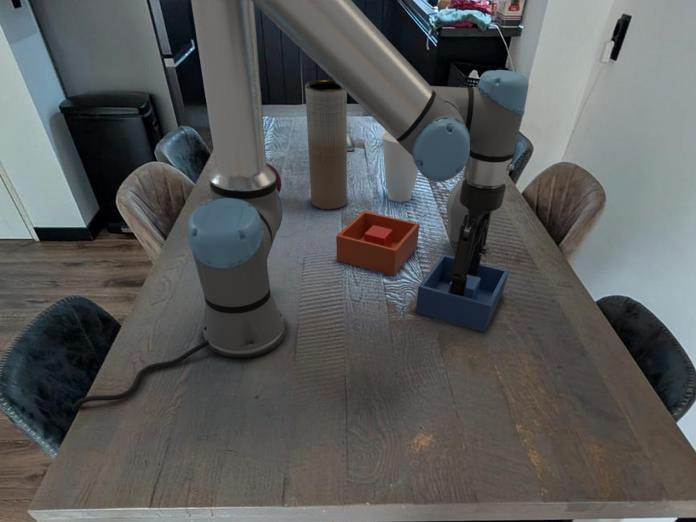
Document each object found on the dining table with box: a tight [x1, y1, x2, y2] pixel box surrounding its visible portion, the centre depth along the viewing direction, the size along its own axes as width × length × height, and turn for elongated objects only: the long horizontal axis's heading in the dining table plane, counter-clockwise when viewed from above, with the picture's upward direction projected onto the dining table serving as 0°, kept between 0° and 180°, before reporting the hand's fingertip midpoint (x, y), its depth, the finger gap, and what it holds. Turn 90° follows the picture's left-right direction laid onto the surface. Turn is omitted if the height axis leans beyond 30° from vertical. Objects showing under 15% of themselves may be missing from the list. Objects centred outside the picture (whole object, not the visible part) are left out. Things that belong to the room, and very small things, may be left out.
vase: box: [304, 79, 348, 210], centre depth 123 cm, size 10×10×28 cm
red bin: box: [335, 210, 420, 277], centre depth 111 cm, size 15×15×6 cm
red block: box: [364, 225, 393, 248], centre depth 111 cm, size 5×5×5 cm
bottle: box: [445, 176, 494, 246], centre depth 106 cm, size 11×11×30 cm
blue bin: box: [414, 253, 510, 333], centre depth 98 cm, size 15×15×6 cm
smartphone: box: [347, 133, 354, 152], centre depth 165 cm, size 7×1×15 cm
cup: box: [381, 130, 420, 203], centre depth 131 cm, size 12×12×16 cm
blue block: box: [448, 275, 481, 300], centre depth 98 cm, size 5×5×5 cm
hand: (461, 293), depth 98 cm, fingers open, 9 cm apart
